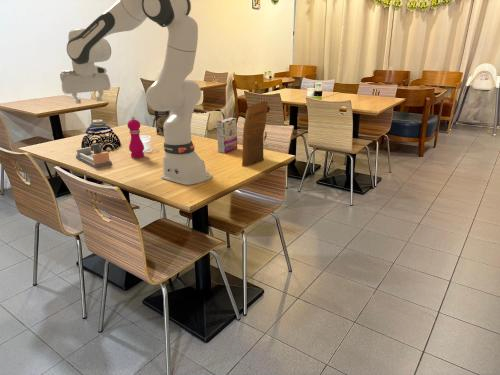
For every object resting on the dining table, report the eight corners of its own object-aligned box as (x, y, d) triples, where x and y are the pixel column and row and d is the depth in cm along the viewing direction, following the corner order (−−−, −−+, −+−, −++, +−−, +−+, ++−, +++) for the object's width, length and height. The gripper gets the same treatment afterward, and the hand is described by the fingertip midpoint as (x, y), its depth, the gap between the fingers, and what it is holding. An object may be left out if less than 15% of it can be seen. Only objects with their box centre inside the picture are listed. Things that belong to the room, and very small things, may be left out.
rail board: (112, 164, 178) (110, 152, 176) (95, 168, 173) (93, 155, 171) (92, 154, 193) (90, 143, 191) (76, 158, 188) (74, 146, 186)
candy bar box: (230, 147, 205) (229, 117, 199) (237, 148, 203) (237, 118, 197) (217, 152, 197) (216, 120, 191) (224, 153, 194) (224, 121, 188)
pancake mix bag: (271, 158, 186) (272, 100, 175) (247, 168, 171) (247, 106, 161) (260, 156, 189) (260, 99, 179) (236, 166, 175) (235, 104, 165)
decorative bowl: (89, 153, 196) (85, 126, 190) (76, 146, 210) (72, 120, 204) (126, 147, 208) (123, 120, 202) (111, 140, 222) (108, 115, 217)
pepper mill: (140, 158, 186) (136, 118, 179) (127, 158, 188) (122, 117, 180) (147, 154, 193) (143, 115, 186) (134, 154, 194) (129, 115, 187)
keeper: (104, 160, 178) (102, 144, 175) (97, 162, 176) (94, 146, 173) (99, 158, 181) (97, 142, 178) (92, 160, 179) (89, 144, 176)
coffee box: (156, 134, 233) (153, 108, 227) (160, 132, 239) (158, 106, 233) (170, 135, 232) (168, 108, 226) (174, 132, 238) (172, 106, 232)
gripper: (62, 71, 155) (68, 105, 160) (109, 68, 168) (114, 100, 173) (56, 70, 159) (62, 104, 164) (103, 68, 172) (107, 99, 177)
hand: (89, 102), depth 169 cm, fingers open, 8 cm apart
